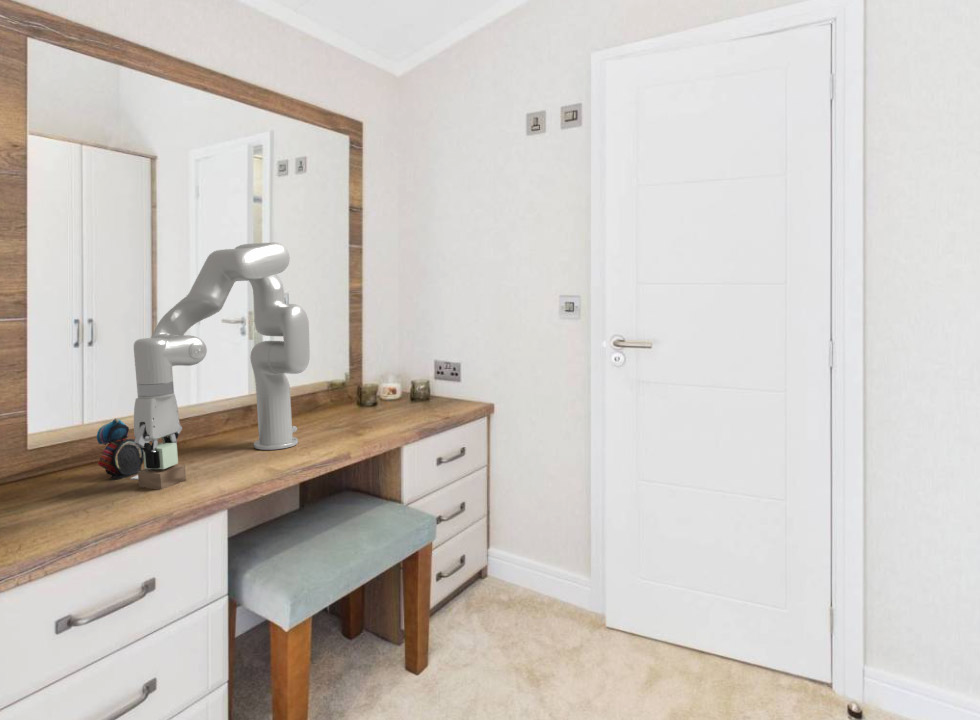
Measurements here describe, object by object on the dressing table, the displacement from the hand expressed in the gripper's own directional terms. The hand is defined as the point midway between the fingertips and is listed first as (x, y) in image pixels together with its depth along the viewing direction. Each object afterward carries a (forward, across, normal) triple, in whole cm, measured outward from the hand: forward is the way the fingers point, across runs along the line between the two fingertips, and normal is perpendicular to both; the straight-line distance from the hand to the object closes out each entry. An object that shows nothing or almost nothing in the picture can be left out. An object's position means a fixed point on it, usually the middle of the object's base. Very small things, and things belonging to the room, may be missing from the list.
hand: (161, 463), depth 138 cm
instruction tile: (+5, -6, -8) cm, 11 cm away
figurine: (+5, -5, -16) cm, 17 cm away
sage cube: (0, 0, 0) cm, 0 cm away
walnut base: (+5, 0, 0) cm, 5 cm away
